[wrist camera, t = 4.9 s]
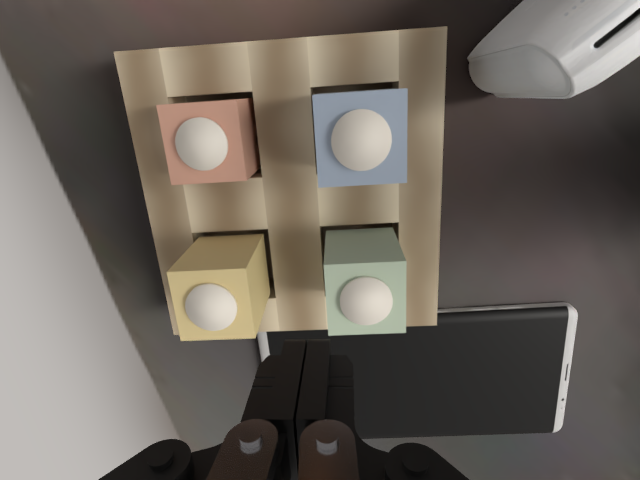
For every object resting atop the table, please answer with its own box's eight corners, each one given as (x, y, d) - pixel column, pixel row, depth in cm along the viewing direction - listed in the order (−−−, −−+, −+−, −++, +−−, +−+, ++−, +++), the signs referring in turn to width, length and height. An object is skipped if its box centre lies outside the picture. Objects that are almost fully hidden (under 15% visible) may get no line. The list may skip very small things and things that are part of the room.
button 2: (263, 233, 29) (244, 270, 23) (270, 292, 31) (254, 341, 25) (199, 236, 29) (164, 274, 23) (209, 295, 31) (179, 343, 25)
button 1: (255, 97, 29) (235, 99, 23) (263, 163, 30) (245, 181, 24) (191, 102, 29) (154, 105, 23) (201, 167, 31) (169, 186, 25)
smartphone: (257, 314, 37) (254, 325, 35) (570, 297, 35) (582, 307, 34) (276, 430, 42) (273, 444, 40) (554, 420, 40) (563, 435, 38)
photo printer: (586, -63, 26) (788, -184, 14) (621, -6, 27) (836, -77, 15) (453, 59, 29) (533, 38, 17) (490, 106, 30) (588, 117, 18)
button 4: (392, 227, 29) (407, 263, 23) (392, 287, 30) (406, 335, 24) (326, 230, 29) (323, 266, 23) (329, 290, 30) (328, 338, 24)
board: (430, 35, 28) (447, 26, 24) (424, 296, 35) (436, 325, 31) (145, 57, 29) (113, 51, 25) (193, 306, 36) (174, 334, 32)
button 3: (391, 88, 25) (408, 88, 20) (392, 163, 27) (407, 184, 21) (317, 93, 26) (311, 94, 20) (321, 167, 27) (318, 189, 21)
